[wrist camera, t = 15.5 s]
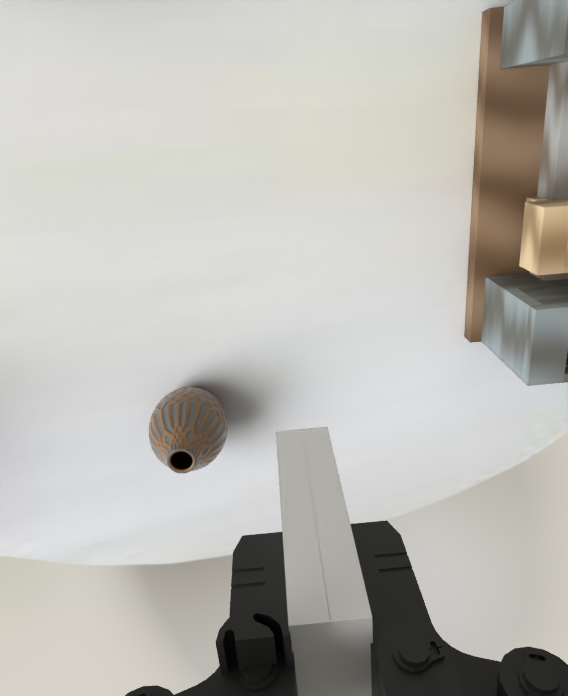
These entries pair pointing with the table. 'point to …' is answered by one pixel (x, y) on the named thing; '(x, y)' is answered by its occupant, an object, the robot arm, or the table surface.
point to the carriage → (545, 236)
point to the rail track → (519, 187)
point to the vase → (188, 429)
